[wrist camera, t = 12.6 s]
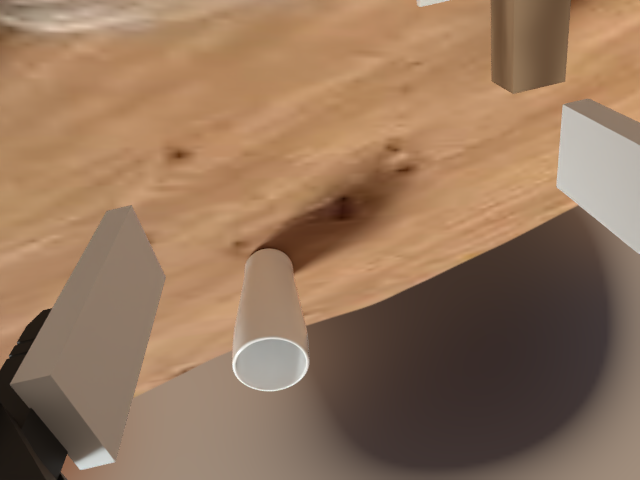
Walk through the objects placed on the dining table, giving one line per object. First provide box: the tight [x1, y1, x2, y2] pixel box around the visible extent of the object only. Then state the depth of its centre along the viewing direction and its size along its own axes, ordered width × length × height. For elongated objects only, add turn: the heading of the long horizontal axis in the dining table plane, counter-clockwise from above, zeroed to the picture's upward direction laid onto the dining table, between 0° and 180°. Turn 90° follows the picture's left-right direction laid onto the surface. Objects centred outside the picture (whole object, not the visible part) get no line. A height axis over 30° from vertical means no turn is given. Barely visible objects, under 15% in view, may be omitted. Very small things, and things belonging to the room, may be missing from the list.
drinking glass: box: [232, 248, 309, 391], centre depth 47 cm, size 7×7×15 cm
